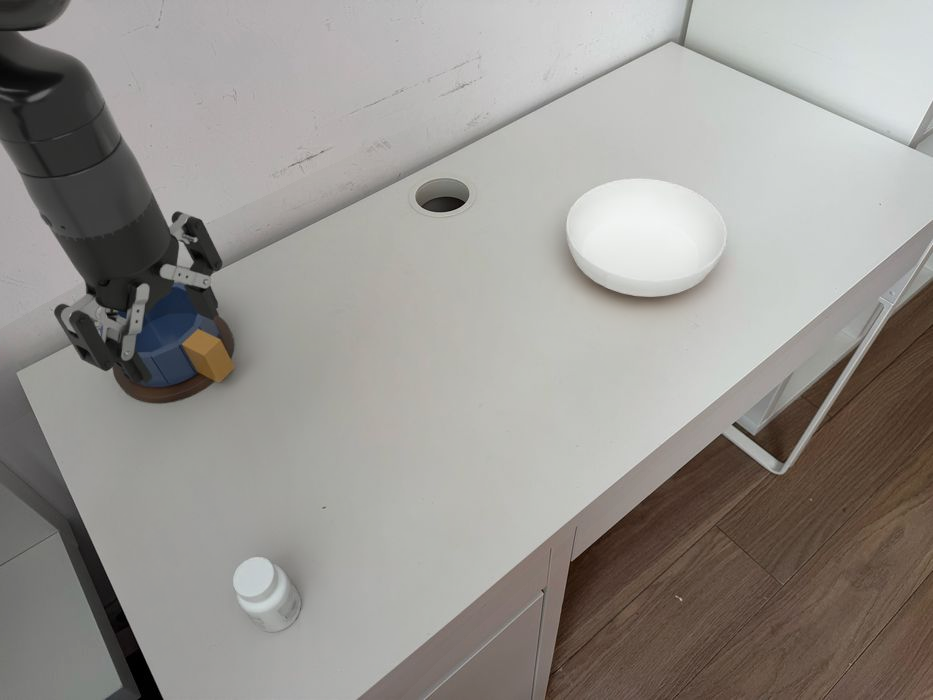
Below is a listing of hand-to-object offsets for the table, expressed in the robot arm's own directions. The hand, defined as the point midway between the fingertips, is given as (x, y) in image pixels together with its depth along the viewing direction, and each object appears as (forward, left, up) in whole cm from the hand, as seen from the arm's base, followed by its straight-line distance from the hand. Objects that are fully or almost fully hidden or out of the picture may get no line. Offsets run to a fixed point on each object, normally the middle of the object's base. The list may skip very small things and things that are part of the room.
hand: (177, 345), depth 63 cm
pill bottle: (-4, -20, -16) cm, 26 cm away
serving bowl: (0, +14, -14) cm, 20 cm away
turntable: (-1, +16, -16) cm, 22 cm away
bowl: (+54, -7, -16) cm, 57 cm away
